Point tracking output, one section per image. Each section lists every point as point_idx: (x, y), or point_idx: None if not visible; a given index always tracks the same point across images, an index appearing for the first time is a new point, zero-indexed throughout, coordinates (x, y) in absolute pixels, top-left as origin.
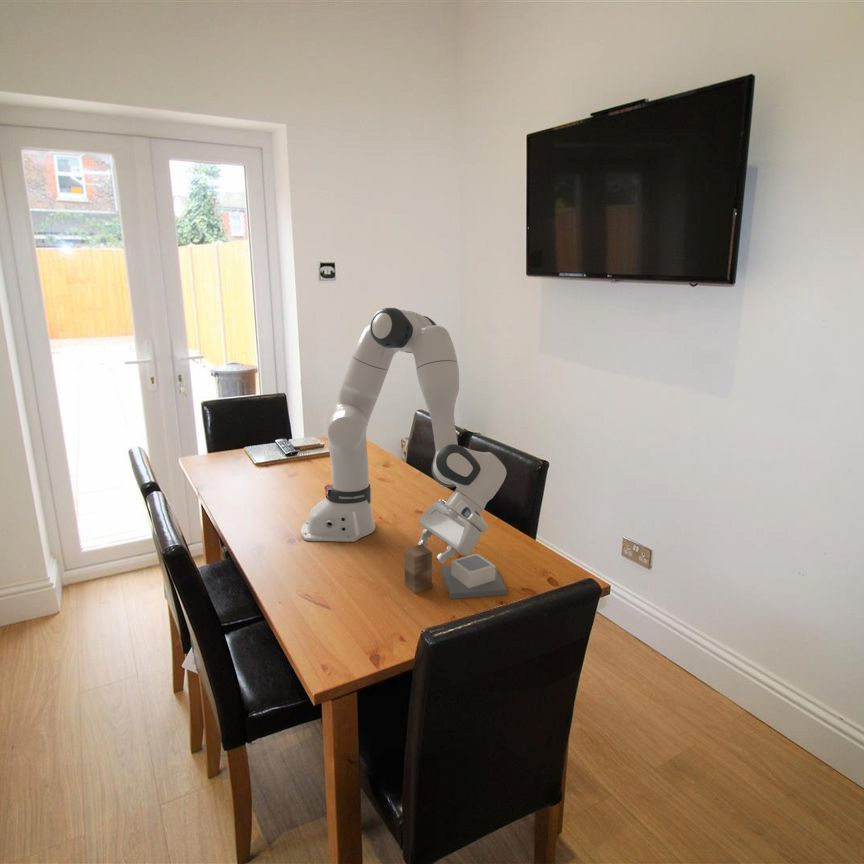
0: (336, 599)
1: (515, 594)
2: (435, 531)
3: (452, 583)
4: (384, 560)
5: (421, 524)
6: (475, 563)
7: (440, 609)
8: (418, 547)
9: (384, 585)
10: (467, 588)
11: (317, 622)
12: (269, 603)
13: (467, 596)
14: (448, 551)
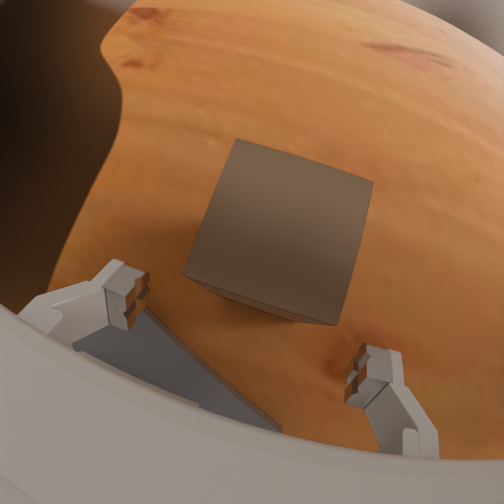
0: (393, 74)
1: None
2: (260, 451)
3: (148, 346)
4: (491, 330)
5: (481, 461)
6: None
7: (116, 210)
8: (319, 266)
9: (375, 200)
10: (85, 347)
11: (331, 10)
12: (446, 24)
13: None
14: (42, 296)
